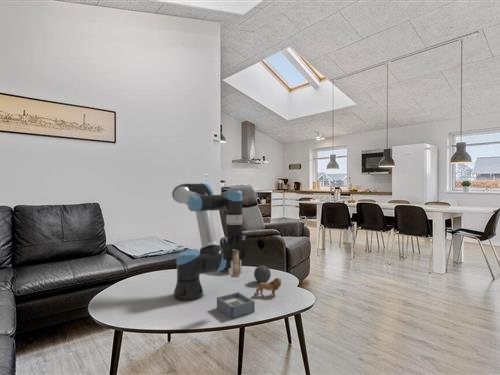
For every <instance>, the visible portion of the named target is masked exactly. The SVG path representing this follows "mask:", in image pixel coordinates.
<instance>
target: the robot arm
mask: <svg viewBox="0 0 500 375" xmlns="http://www.w3.org/2000/svg"><path fill="white" fill-rule="evenodd" d="M171 196H172V199H173V200H174V201H175V202H176V203H179V204H185V205H186V206H187V208H188V210H189V211H190V212H195V215H196V221H197V226H198V227H197V228H198V233H199V238H200V243H201V244H200V245H201V247H200V248H199V249H198V248H197V249H196V248H195V249H193V248H192V249H185V250H184V251H180V252H179V253H178V254H177V255H176V256H177V257H176V284H175V288H174V291H173V299H175V300H178V301H182V302H183V301H187V302H189V301H194V300H197V299H199V298H202V297H203V296H204V290H203V286H202V284H201V281H200V276H201V275H204V274H209V273H217V272H220V271H221V270H223V269H224V268H225V265H226V260H227V268H229V272H228V275H229V276H230V277H231V276H232V275H233V261H231V259H232V252H233V250H234V247H236V250H239V275H241V274H242V272H243V271H242V267H243V266H244V262H243V261H244V259H245V258H247V250H248V249H247V248H248V246H247V245H248V244H247V243H248V242H247V241H248V239H249V237H248V236H247V235H244V234H243V231H244V229H243V228H244V227H243V192H242V191H241V190H226V193H225V194H214V190H213V188H212V186H211V185H210V184H208V183H203V182H202V183H201V182H200V183H182V184H179V185H176V186H175V187H174V188H173V190H172V193H171ZM211 211H225V212H226V214H225V215H226V216H225V218H226V219H225V220H226V223H225V224H226V235H225V237H223V238H221V239H220V240H221V244H222V248H221V244H219V243H218V242H217V237H216V231H215V227H214V222H213V217H212V212H211Z"/></svg>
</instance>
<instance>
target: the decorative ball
mask: <svg viewBox="0 0 500 375" xmlns="http://www.w3.org/2000/svg"><path fill="white" fill-rule="evenodd" d="M271 273H272V272H271V269H270V268H269V267H268V266H266V265H259V266H257V267H255V269H254V272H253V275H254V276H253V277H254V279H255V280H256V281H257V282H258V283H261V282H263V283H267V282H268V281H269V280H270V278H271V276H272V275H271Z"/></svg>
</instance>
